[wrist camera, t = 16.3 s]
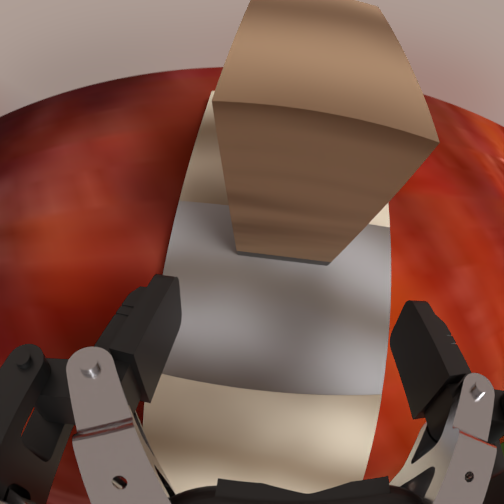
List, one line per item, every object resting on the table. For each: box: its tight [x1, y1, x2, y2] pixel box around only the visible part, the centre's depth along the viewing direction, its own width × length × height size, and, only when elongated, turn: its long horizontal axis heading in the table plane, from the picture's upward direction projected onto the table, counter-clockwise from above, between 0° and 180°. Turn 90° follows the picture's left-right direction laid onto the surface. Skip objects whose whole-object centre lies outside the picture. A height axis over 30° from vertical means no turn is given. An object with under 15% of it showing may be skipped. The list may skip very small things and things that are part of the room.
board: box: [143, 91, 391, 494], centre depth 15 cm, size 30×13×1 cm, turn 173°
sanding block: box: [212, 0, 440, 266], centre depth 11 cm, size 8×5×11 cm, turn 173°
